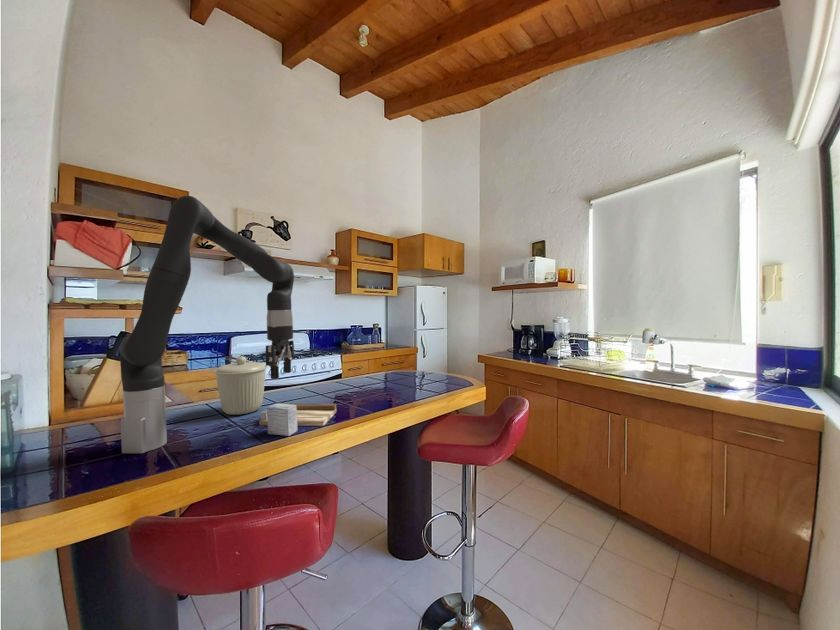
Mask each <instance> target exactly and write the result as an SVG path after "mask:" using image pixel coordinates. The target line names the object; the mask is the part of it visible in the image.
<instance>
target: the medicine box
mask: <svg viewBox="0 0 840 630" xmlns="http://www.w3.org/2000/svg"><path fill="white" fill-rule="evenodd" d="M291 404H292V403H273V404H271V405H269V406H267V408H266V409H267V422H268V426H267V434H268V435H276V436H286V437H289V436H291V435H293V434H295V433H297V432H298V426H297V408H296V405H291Z"/></svg>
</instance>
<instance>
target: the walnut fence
mask: <svg viewBox="0 0 840 630" xmlns="http://www.w3.org/2000/svg"><path fill="white" fill-rule="evenodd" d="M290 404H291V405H296V408H297V410H335V409H336V410H337V403H290Z"/></svg>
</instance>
